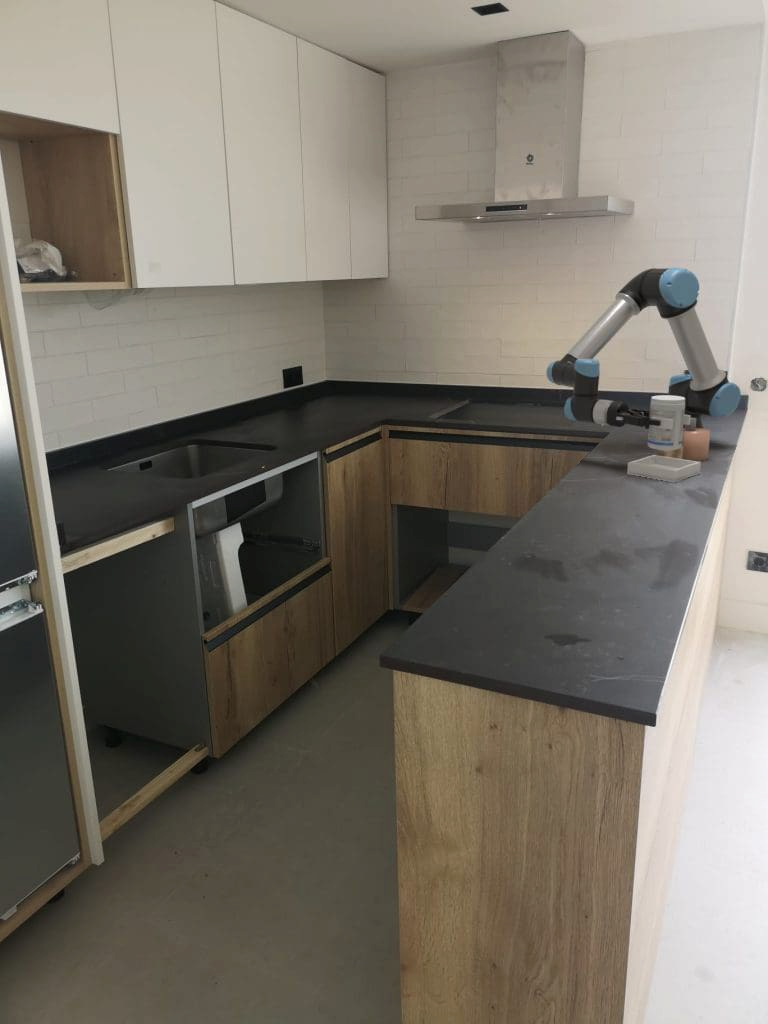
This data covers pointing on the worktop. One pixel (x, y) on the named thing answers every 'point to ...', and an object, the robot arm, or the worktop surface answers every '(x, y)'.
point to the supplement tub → (669, 410)
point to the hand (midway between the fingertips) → (681, 422)
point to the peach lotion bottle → (695, 442)
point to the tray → (664, 468)
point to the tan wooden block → (673, 451)
